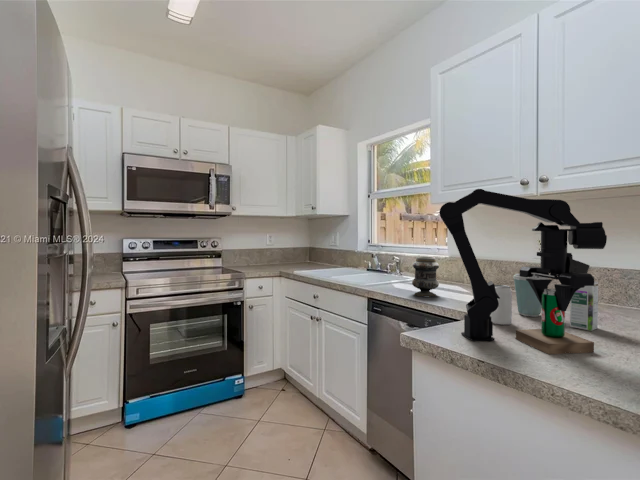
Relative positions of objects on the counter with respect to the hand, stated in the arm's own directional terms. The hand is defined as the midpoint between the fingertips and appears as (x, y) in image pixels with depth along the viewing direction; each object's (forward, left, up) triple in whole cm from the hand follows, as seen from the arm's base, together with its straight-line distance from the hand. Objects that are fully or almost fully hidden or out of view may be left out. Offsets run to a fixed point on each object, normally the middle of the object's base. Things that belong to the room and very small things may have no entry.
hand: (552, 308), depth 89 cm
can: (0, +22, -10) cm, 24 cm away
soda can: (0, 0, -7) cm, 7 cm away
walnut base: (0, 0, -10) cm, 10 cm away
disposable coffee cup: (+17, +31, -10) cm, 37 cm away
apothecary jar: (-5, +71, -10) cm, 72 cm away
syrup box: (+22, +14, -10) cm, 28 cm away
